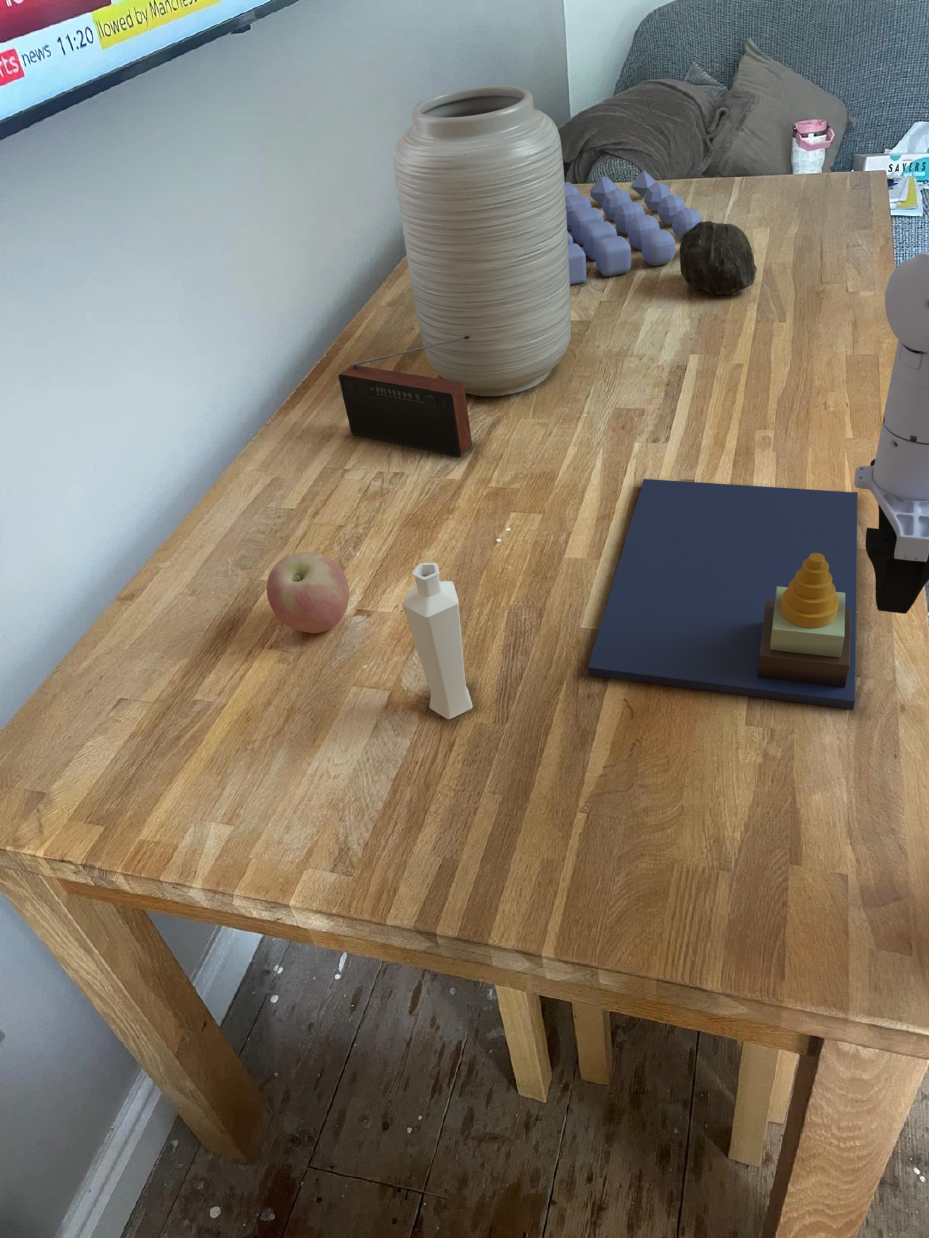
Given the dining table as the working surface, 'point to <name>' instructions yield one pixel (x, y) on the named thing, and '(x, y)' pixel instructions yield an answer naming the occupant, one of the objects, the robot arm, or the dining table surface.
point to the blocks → (623, 226)
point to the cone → (811, 595)
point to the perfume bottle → (438, 639)
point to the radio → (406, 408)
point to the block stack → (805, 647)
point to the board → (720, 585)
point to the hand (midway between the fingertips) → (892, 577)
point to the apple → (308, 592)
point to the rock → (717, 258)
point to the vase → (486, 237)
